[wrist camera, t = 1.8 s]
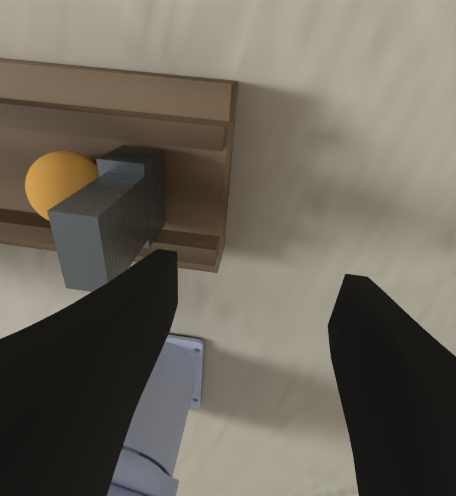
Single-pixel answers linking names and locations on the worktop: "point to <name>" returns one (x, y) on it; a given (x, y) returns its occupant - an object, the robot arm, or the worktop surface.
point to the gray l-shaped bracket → (110, 217)
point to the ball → (57, 179)
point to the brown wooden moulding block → (114, 135)
